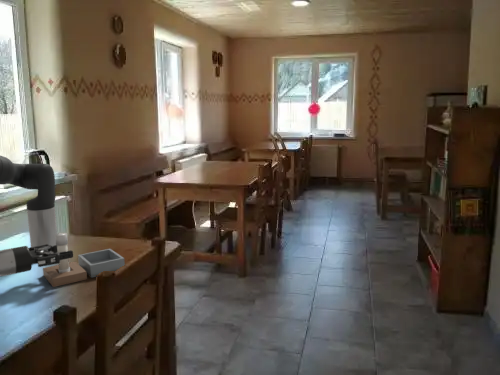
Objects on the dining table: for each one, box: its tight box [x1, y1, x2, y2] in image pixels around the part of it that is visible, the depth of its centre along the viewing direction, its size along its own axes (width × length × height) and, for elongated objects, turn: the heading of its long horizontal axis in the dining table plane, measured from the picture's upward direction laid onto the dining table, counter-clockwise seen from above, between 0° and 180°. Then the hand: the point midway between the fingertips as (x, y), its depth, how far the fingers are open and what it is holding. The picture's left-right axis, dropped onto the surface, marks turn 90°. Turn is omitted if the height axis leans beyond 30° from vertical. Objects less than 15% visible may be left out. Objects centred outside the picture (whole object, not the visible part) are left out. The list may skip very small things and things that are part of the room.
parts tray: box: [77, 248, 126, 278], centre depth 153 cm, size 13×11×4 cm
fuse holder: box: [42, 261, 88, 288], centre depth 145 cm, size 12×10×2 cm
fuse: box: [55, 232, 70, 273], centre depth 144 cm, size 3×3×14 cm
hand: (68, 250), depth 145 cm, fingers open, 8 cm apart
